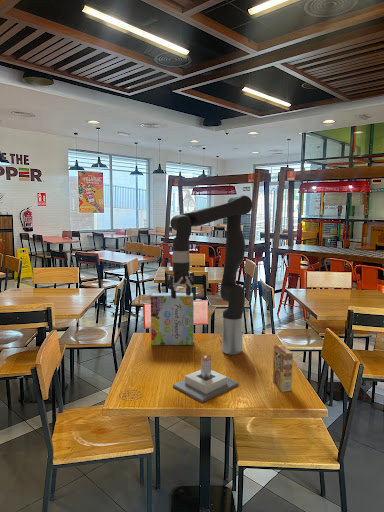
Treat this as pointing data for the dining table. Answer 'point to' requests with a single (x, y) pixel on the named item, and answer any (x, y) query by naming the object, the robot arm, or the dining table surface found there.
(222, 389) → the dock
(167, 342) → the snack box
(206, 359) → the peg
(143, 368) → the dining table surface
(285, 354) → the candy box
